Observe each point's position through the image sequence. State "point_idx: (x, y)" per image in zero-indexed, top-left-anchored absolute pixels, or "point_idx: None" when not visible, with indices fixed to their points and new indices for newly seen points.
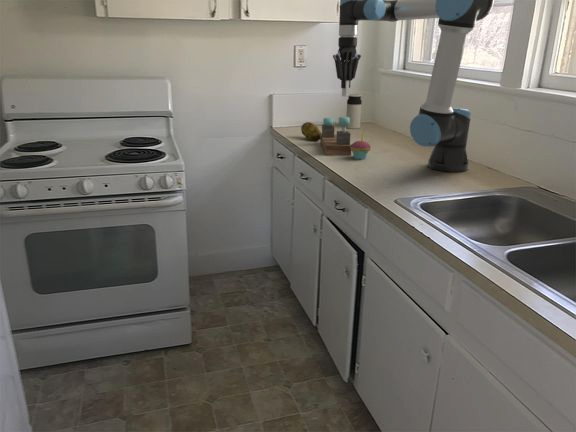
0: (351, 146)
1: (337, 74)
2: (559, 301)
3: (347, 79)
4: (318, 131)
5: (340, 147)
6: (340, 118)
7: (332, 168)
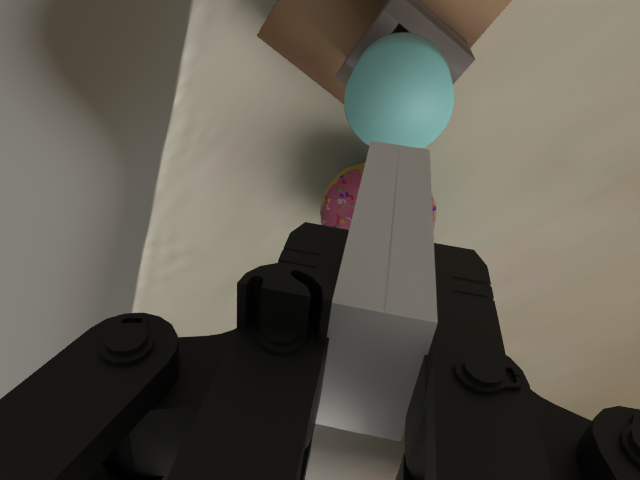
0: (324, 198)
1: (3, 432)
2: None
3: (413, 410)
4: None
5: (335, 94)
6: (344, 101)
7: (156, 230)
